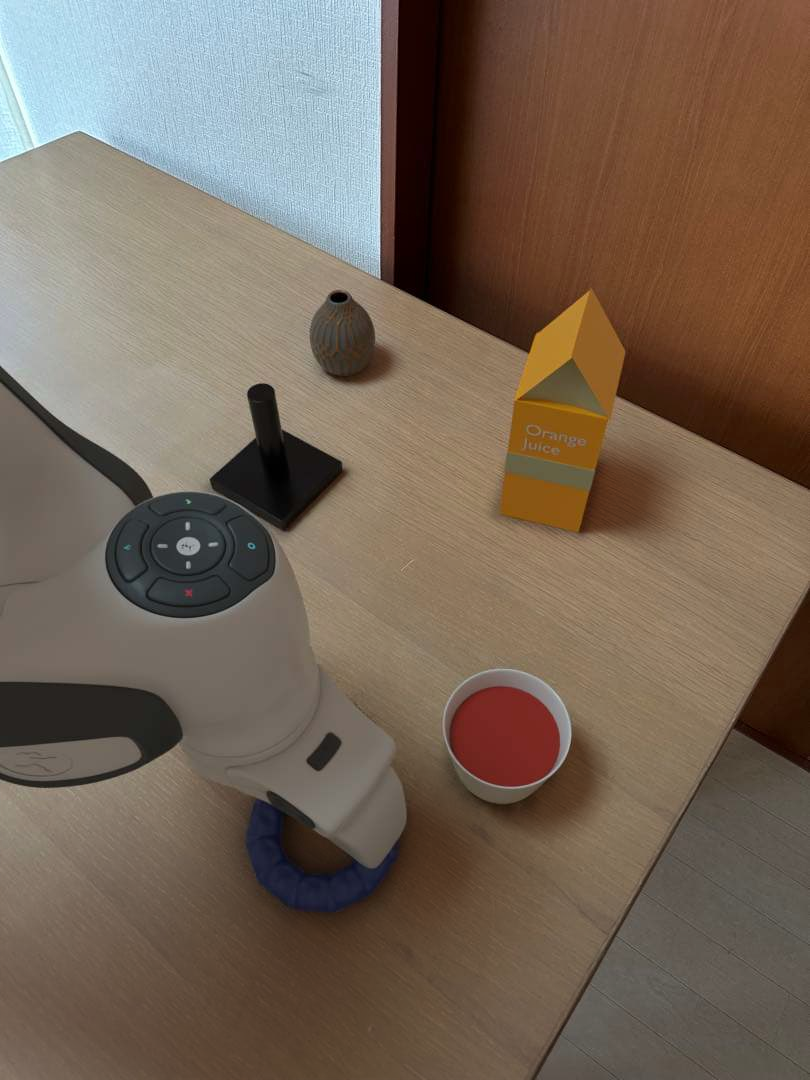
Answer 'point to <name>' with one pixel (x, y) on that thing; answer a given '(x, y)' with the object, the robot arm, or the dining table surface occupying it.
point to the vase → (342, 335)
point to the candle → (505, 734)
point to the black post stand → (275, 467)
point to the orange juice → (562, 416)
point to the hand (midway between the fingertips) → (280, 789)
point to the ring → (294, 882)
